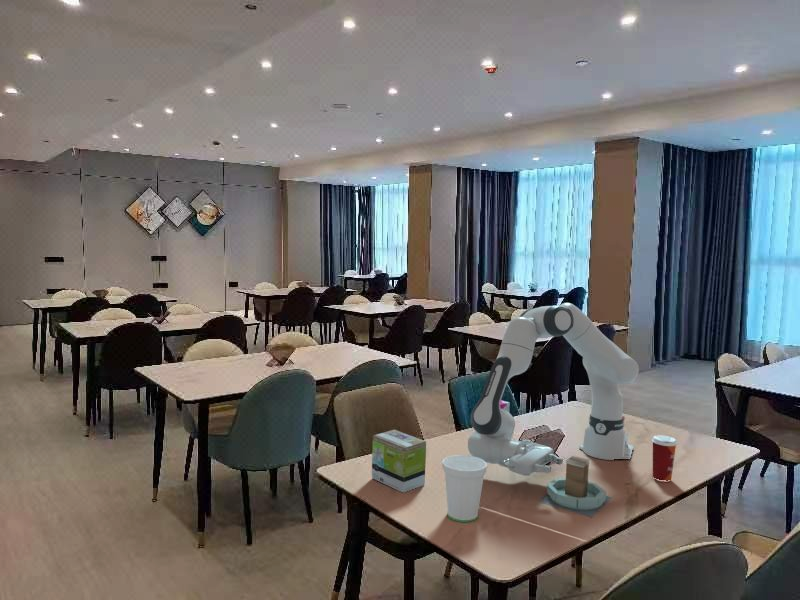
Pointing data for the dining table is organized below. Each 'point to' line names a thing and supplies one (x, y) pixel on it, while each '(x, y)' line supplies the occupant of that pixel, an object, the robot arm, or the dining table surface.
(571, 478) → the lidded brown carton
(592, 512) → the place mat
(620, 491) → the dining table surface
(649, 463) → the dining table surface
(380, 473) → the tea box
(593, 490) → the bowl
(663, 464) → the paper cup
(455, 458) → the cup
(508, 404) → the supplement box
